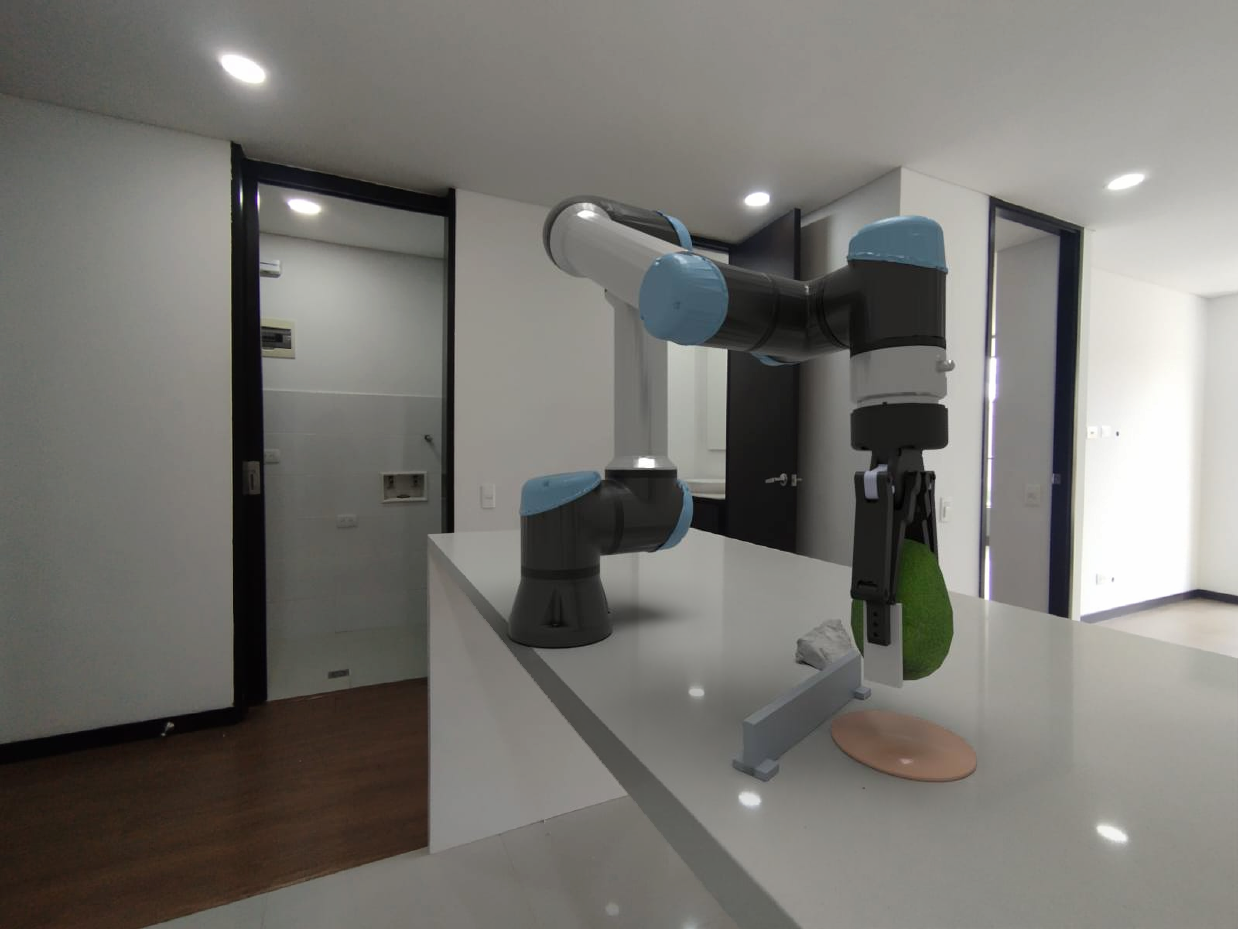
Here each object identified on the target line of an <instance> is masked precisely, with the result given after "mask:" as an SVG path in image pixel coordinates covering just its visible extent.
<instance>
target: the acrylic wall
mask: <svg viewBox="0 0 1238 929" xmlns="http://www.w3.org/2000/svg"><path fill="white" fill-rule="evenodd" d="M871 694H872V688H871V687H869V686H865V685H862V655H861V653H860V652H859V653H857V652H852V651H851V652H850V653H848V654H847V655H845V656H843V657H842V658H840V659H839V660H837V661H836V662H834V663H832V664H831V665H829V666H828V667H826V668H825V669H823V670H819V672H817V673H816V674H814V675H812V676H810V677H809V678H807V679H806V680H804V681H802V682H801V683H800V684H798V685H796V686H795V687H793V688H792V689H790V690H788V691H787V692H785V693H784V694H782V695H781V696H779V697H777V698H776V699H774V700H773V701H771V702H770V703H768V704H767V705H765V706H763V707H762V708H760V709H759V710H756V712H754V713H753V714H751V715H749V716H748V717H746V718H745V719H743V720H742V732H743V733H742V735H743V736H742V738H743V739H742V743H743V744H742V748H743V750H742V751H741V752H740V753H738V754H737V755H736V756H734V757H733V758H732V763H731V764H732V767H733V768H735V769H738V770H740V771H742V772H745V773H746V774H748V775H751V776H753V777H755V778H758V779H760V780H762V781H764V782H768V781H769V780H770V779H771V778H773V777H774V776H775V775H776V774H777V773H779V772H780V762H777V761H776V760H777V759H778V758H779V757H781V756H782V755H783V754H784V753H786V752H787V751H788V750H790V749H791V748H792V747H794V746H795V745H796V744H797V743H798V742H799V741H801V740H802V739H803V738H805V737H806V736H807V735H808V734H809V733H811V732H812V731H814V730H815V729H816V728H817V727H818V726H820V724H823V722H825V721H826V720H827V719H828V718H829V717H831V716H832V715H833V714H835V713H836V712H837V711H838V710H840V709H841V708H842V707H843V706H845V705H846V704H847V703H848V702H850V701H851V700H852V699H853V698H857V699H861V700H866V699H867V697H869V696H871Z"/></svg>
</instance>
